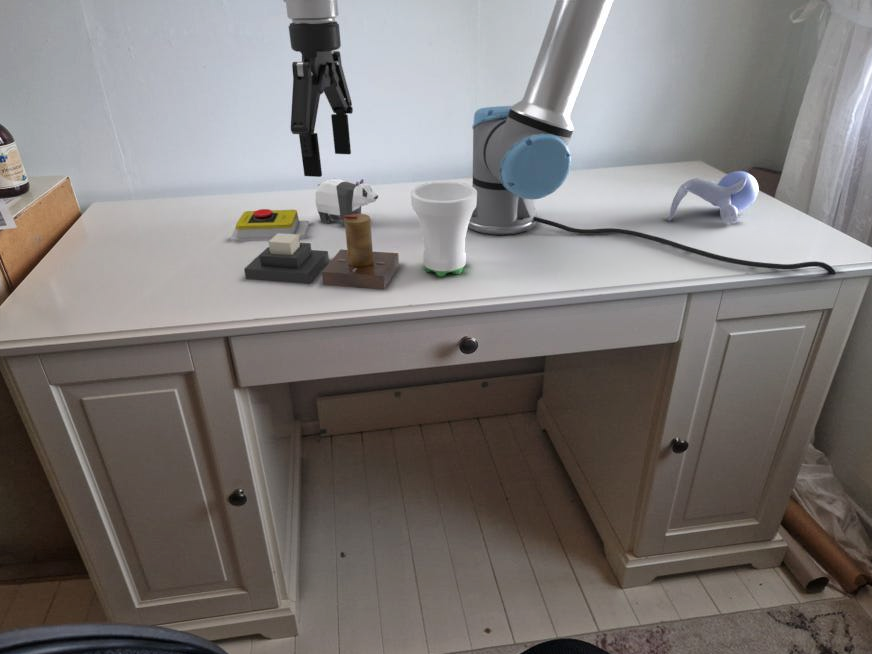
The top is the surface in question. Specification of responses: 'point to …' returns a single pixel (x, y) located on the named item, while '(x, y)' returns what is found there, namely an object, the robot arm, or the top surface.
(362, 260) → the volume knob
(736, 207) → the seal
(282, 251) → the cream square push button
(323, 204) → the giant panda
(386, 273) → the volume panel
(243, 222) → the emergency button
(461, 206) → the cup
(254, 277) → the grey stepped base
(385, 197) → the top surface
